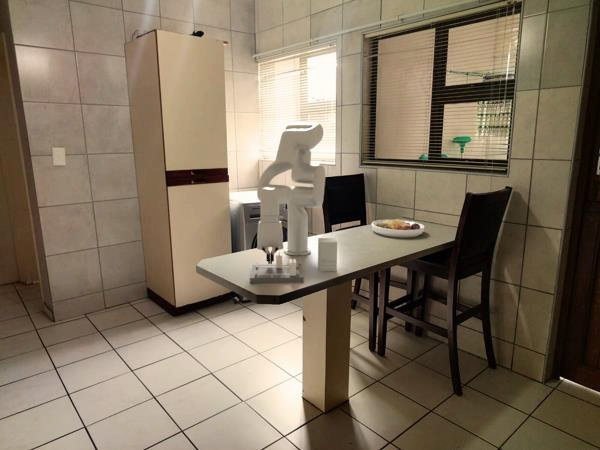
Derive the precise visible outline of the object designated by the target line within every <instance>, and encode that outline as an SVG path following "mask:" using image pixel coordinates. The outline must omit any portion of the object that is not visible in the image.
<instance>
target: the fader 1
mask: <svg viewBox="0 0 600 450" xmlns="http://www.w3.org/2000/svg"><path fill="white" fill-rule="evenodd" d="M275 255H276V256H275V259H276V262H275V265H276V268H282V265H283V252H275Z"/></svg>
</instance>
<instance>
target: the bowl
mask: <svg viewBox="0 0 600 450" xmlns="http://www.w3.org/2000/svg"><path fill="white" fill-rule="evenodd" d="M371 228H372V230H373V232H374V233H376V234H378V235H380V236H385V237H388V238H389V237H390V238H415V237H418V236H420V235H422V234H423V233H424V231H425V225H424V224H422V223H420V222H416V221H410V220H403V219H399V218H398V219H397V218H396V219H380V220H374V221H372V222H371Z"/></svg>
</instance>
